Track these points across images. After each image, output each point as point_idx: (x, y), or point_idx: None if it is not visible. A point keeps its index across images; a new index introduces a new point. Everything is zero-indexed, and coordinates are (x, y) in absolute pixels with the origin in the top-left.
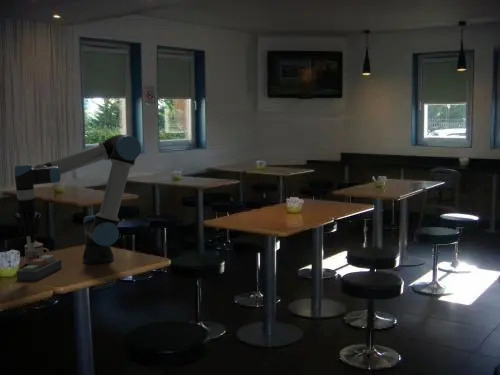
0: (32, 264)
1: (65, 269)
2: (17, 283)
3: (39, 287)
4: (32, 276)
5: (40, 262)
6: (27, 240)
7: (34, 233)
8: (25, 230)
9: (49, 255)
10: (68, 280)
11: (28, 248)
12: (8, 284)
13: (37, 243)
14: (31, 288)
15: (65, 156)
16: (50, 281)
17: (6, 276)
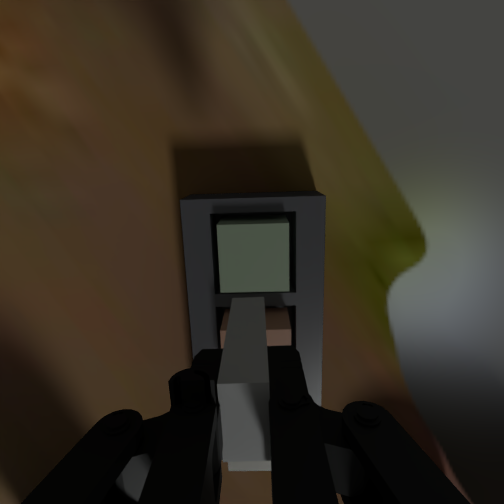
0: (284, 318)
1: (170, 401)
2: (271, 121)
3: (82, 55)
4: (215, 196)
5: (225, 326)
6: (261, 349)
7: (107, 422)
8: (291, 469)
9: (254, 463)
10: (14, 214)
11: (257, 305)
12: (315, 94)
13: None
14: (116, 27)
15: None
16: (101, 184)
17: (424, 252)
